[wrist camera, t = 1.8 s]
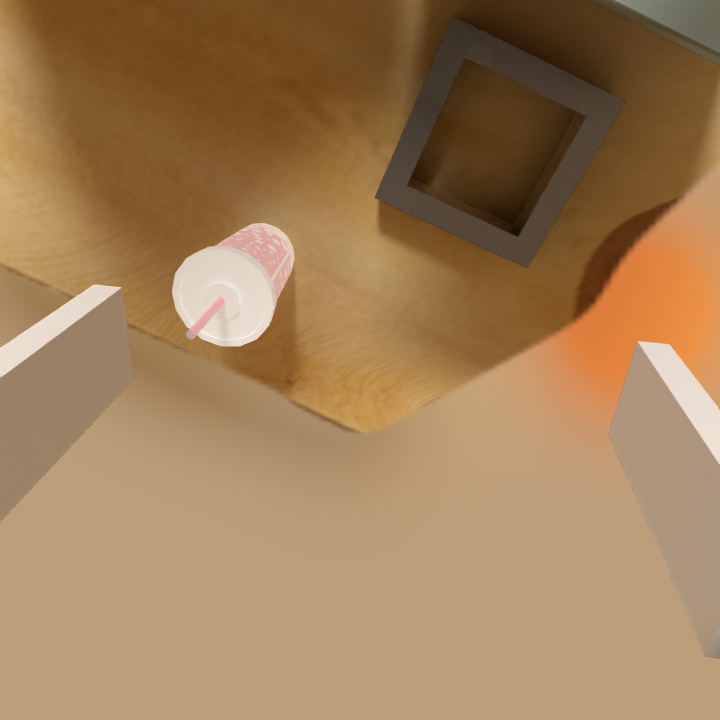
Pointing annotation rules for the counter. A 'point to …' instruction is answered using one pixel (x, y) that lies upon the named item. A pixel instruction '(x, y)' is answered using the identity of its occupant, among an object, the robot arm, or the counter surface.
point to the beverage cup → (233, 285)
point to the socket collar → (559, 174)
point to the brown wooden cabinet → (676, 21)
